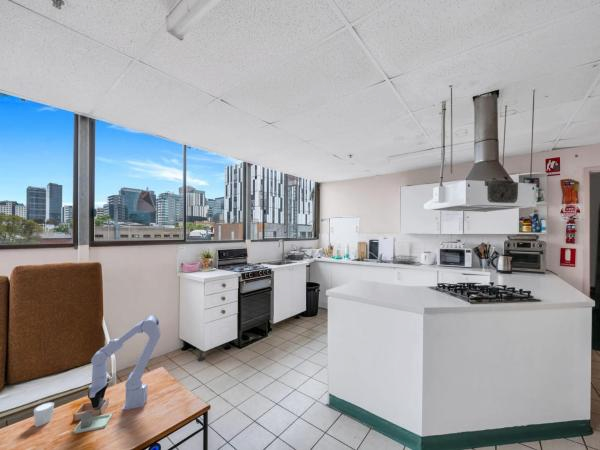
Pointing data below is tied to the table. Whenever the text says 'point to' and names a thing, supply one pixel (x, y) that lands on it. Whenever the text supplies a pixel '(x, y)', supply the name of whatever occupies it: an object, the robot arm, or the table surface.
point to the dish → (89, 409)
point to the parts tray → (94, 423)
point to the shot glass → (43, 413)
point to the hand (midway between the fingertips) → (97, 403)
